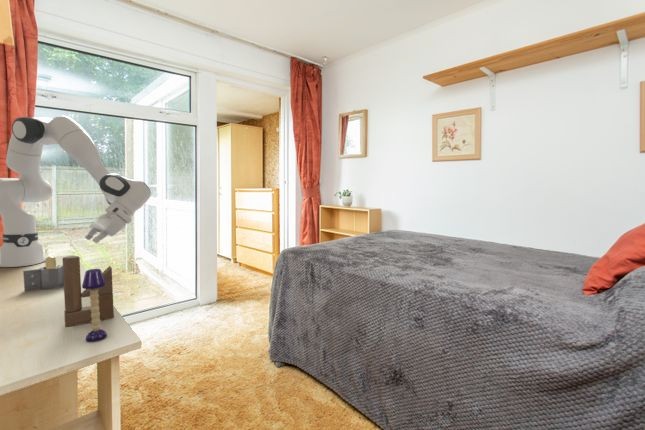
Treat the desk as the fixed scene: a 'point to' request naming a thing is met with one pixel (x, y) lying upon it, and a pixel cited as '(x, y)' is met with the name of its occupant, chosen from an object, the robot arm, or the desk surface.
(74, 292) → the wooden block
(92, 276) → the toy lamp
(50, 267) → the brass pin
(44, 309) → the desk surface
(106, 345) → the desk surface
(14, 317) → the desk surface
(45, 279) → the octagonal sleeve with tab
